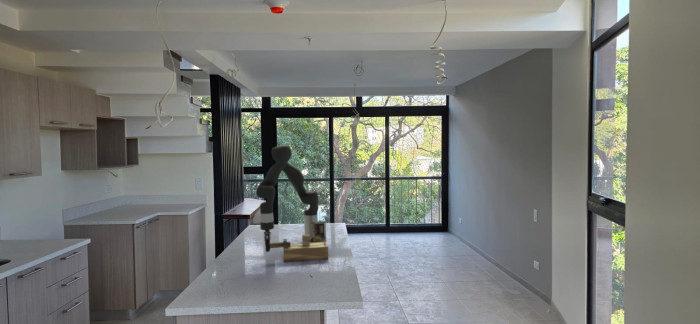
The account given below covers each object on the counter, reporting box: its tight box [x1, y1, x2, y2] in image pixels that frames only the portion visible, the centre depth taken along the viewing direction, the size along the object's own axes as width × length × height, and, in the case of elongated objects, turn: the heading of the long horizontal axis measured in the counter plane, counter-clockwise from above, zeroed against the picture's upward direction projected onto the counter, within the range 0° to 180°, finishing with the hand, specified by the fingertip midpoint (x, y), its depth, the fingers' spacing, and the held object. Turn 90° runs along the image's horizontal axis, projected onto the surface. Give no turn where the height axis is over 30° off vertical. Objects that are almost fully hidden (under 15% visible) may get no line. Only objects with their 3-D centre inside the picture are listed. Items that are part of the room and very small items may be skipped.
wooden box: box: [282, 238, 329, 263], centre depth 225 cm, size 12×25×11 cm, turn 100°
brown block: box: [264, 241, 291, 249], centre depth 222 cm, size 3×14×3 cm, turn 100°
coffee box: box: [310, 221, 327, 243], centre depth 245 cm, size 9×6×16 cm
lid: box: [288, 234, 325, 249], centre depth 225 cm, size 9×21×7 cm, turn 100°
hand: (268, 250), depth 221 cm, fingers closed on brown block, 3 cm apart
